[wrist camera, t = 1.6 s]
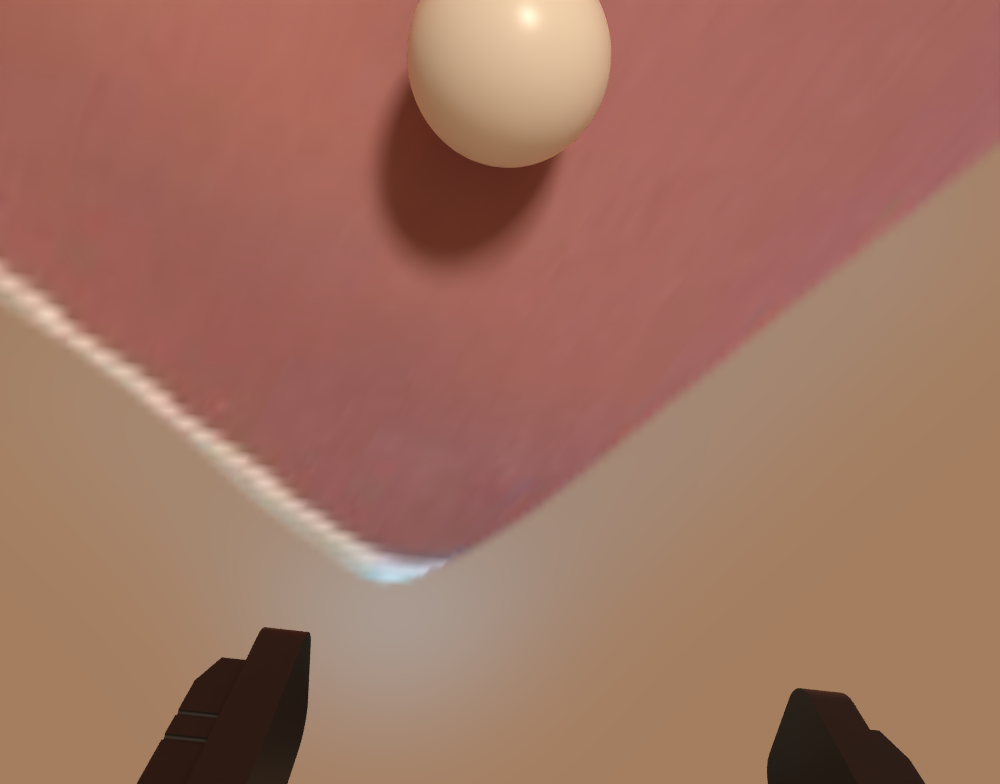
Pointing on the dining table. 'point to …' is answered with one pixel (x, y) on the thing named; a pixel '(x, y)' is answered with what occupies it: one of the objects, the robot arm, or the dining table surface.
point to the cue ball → (508, 74)
